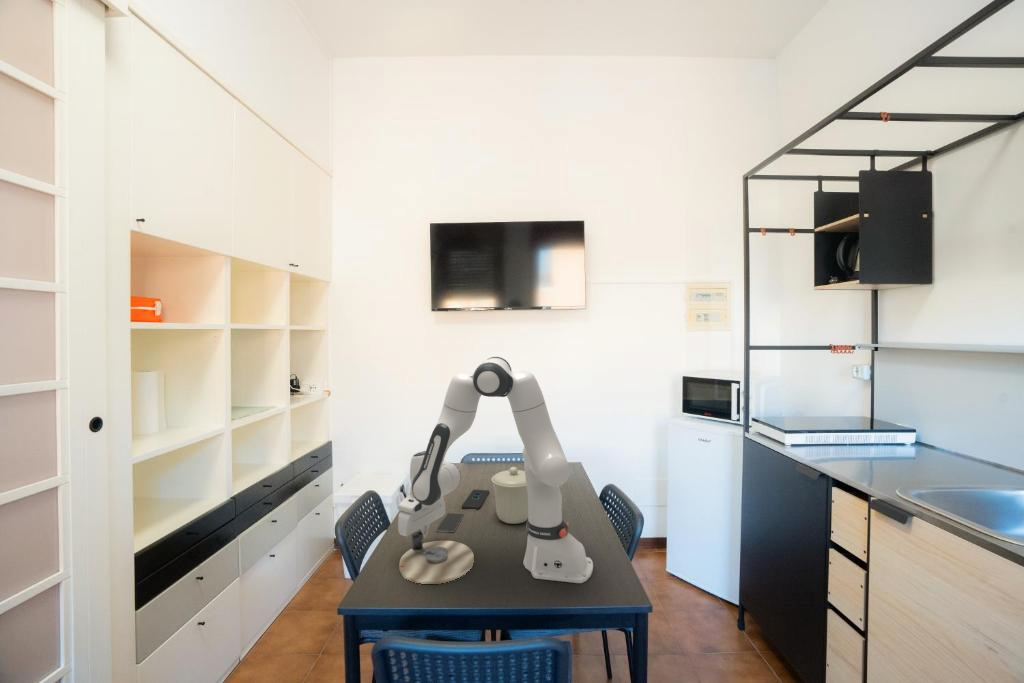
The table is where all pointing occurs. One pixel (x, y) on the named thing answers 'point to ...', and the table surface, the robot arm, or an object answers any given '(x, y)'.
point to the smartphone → (450, 522)
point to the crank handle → (428, 550)
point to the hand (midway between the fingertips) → (423, 537)
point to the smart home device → (475, 499)
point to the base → (428, 573)
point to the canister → (511, 495)
